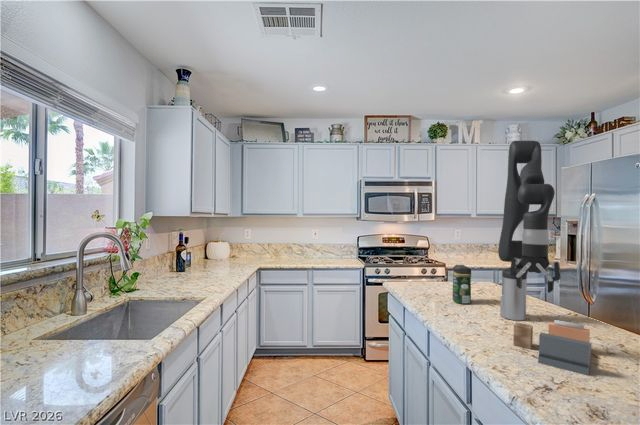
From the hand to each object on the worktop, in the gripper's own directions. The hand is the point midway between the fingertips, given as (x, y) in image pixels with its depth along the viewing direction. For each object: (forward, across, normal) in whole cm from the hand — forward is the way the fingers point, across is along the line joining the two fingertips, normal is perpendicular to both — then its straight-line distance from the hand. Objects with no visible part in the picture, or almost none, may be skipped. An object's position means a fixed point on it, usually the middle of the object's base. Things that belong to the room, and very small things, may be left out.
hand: (534, 290), depth 116 cm
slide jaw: (+17, +9, +6) cm, 20 cm away
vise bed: (+19, +9, -2) cm, 21 cm away
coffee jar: (+19, -38, +40) cm, 58 cm away
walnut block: (+19, -3, -2) cm, 19 cm away
